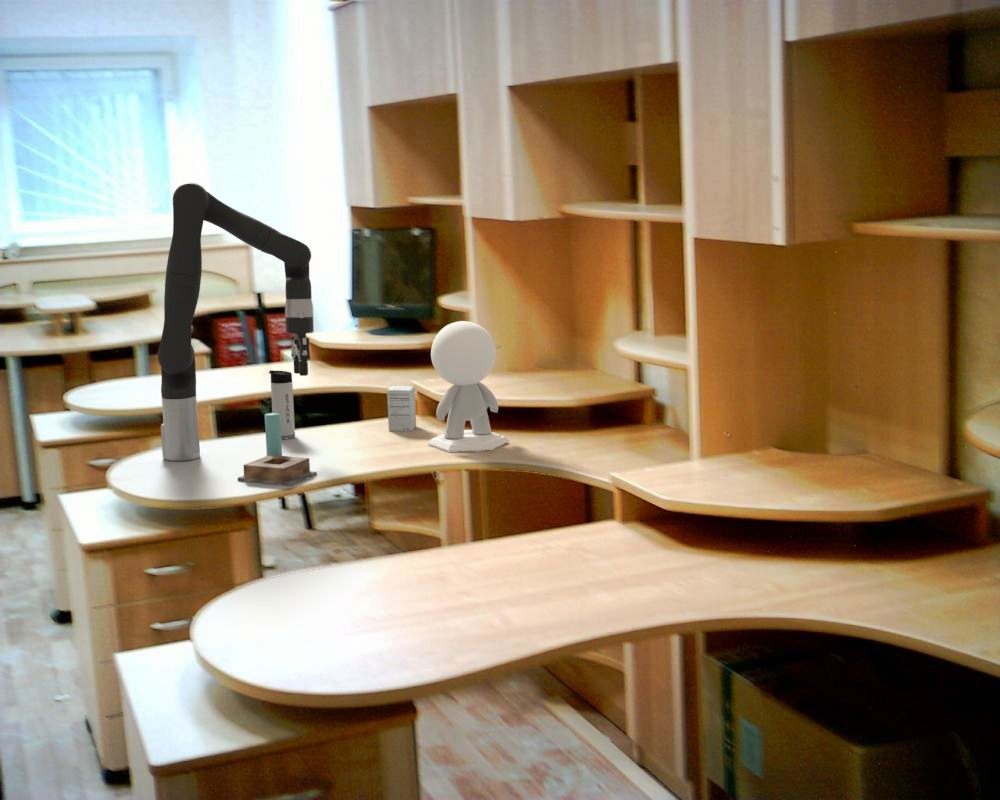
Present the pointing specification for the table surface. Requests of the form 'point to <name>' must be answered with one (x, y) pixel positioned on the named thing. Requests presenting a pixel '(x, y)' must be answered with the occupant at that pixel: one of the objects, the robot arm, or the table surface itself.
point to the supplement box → (401, 408)
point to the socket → (277, 470)
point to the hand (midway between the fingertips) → (300, 374)
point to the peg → (273, 434)
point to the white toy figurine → (465, 387)
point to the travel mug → (283, 401)
